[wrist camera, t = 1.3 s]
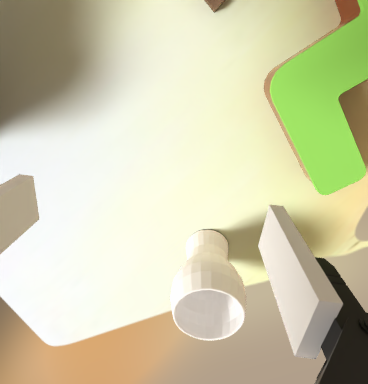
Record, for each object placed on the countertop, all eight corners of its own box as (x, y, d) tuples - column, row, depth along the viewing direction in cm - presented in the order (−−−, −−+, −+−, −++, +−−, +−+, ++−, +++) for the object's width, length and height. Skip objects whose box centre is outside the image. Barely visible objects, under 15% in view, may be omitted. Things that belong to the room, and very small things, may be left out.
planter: (431, 120, 37) (470, 127, 31) (306, 182, 42) (321, 198, 36) (360, -127, 27) (398, -176, 22) (210, -9, 33) (211, -25, 27)
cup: (231, 217, 45) (244, 280, 31) (240, 266, 49) (253, 340, 36) (172, 227, 47) (159, 290, 33) (185, 273, 51) (178, 346, 37)
